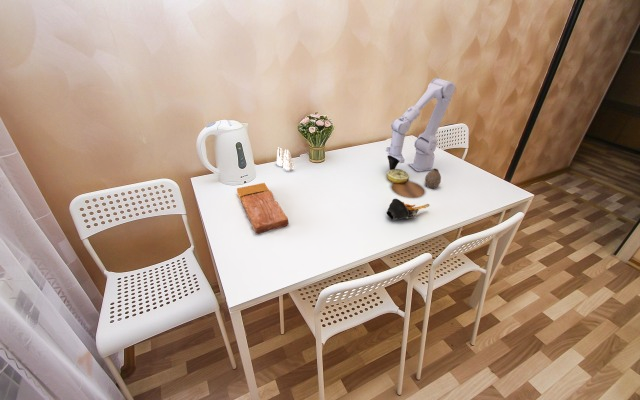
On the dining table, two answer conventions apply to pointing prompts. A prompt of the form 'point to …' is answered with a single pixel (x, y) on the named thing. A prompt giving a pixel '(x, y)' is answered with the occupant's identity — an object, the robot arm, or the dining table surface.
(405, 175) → the decorated donut
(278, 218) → the brown wooden board
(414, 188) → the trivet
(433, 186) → the vase
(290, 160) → the shaker set
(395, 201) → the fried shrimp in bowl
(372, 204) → the dining table surface
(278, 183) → the dining table surface
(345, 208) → the dining table surface
